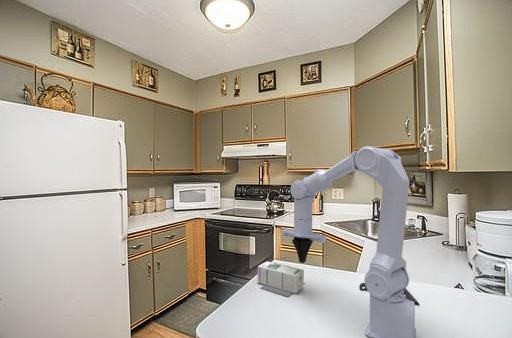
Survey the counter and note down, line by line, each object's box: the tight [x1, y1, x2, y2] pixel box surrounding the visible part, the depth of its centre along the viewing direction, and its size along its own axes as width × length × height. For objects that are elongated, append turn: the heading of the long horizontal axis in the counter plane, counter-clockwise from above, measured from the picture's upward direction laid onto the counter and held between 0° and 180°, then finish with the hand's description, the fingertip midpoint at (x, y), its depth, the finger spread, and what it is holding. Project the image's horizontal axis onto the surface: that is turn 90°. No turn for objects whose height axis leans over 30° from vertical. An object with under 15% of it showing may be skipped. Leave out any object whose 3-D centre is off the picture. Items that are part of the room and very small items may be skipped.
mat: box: [260, 282, 305, 298], centre depth 86 cm, size 10×12×1 cm
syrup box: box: [257, 261, 305, 294], centre depth 86 cm, size 6×6×14 cm
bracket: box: [358, 282, 420, 307], centre depth 83 cm, size 14×15×3 cm
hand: (302, 261), depth 82 cm, fingers closed
